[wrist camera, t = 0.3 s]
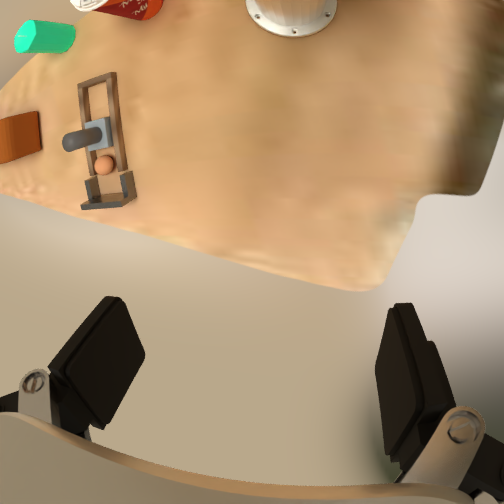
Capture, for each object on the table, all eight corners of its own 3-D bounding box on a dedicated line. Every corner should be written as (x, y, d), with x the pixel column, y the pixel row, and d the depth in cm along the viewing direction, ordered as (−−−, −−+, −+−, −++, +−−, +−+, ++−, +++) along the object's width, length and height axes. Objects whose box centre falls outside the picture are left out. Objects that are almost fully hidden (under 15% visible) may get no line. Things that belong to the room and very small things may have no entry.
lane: (83, 83, 40) (77, 84, 38) (116, 72, 38) (110, 72, 37) (95, 173, 47) (90, 176, 46) (127, 168, 46) (122, 171, 45)
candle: (51, 54, 37) (5, 54, 26) (57, 25, 34) (12, 21, 24) (71, 52, 37) (24, 51, 26) (79, 23, 34) (32, 16, 23)
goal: (92, 176, 48) (75, 184, 43) (132, 171, 46) (116, 179, 42) (97, 200, 50) (81, 210, 46) (136, 196, 48) (121, 206, 44)
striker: (92, 121, 43) (56, 129, 35) (112, 116, 42) (76, 123, 34) (96, 148, 45) (61, 161, 37) (116, 144, 44) (81, 156, 36)
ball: (100, 155, 46) (89, 159, 43) (115, 152, 45) (104, 156, 42) (103, 173, 47) (92, 178, 44) (118, 171, 47) (107, 176, 44)
